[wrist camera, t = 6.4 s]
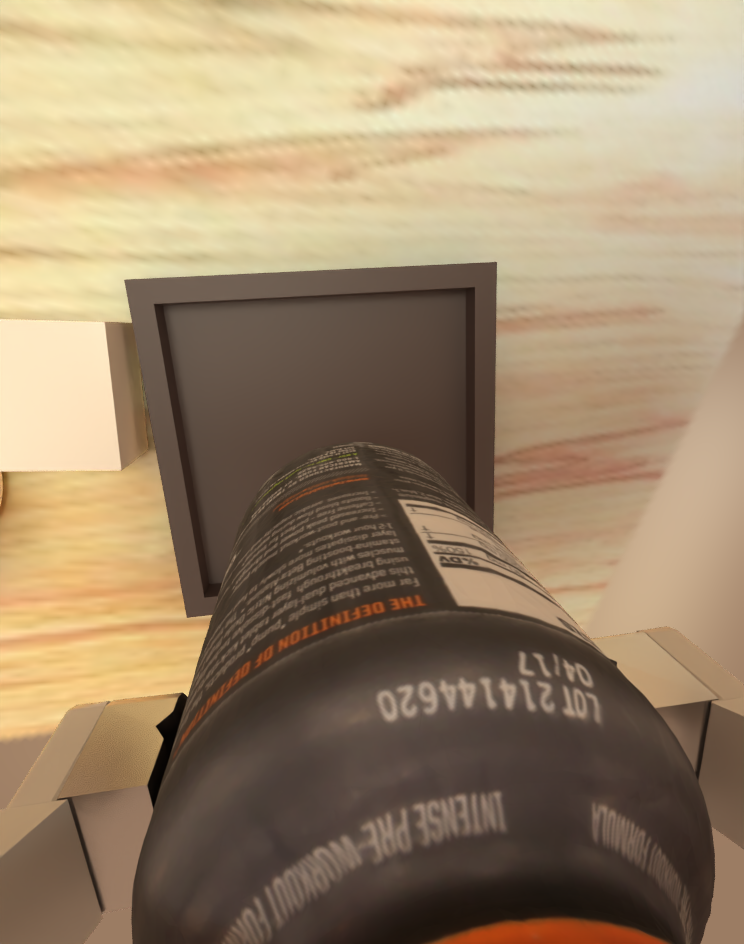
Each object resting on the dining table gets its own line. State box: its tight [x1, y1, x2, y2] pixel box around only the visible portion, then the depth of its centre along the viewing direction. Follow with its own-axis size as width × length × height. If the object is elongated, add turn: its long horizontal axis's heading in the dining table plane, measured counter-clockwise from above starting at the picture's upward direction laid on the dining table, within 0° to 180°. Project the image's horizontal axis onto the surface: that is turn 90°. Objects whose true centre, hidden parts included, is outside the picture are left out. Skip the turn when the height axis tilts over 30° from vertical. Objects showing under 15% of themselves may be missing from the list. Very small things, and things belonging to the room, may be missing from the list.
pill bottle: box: [132, 442, 715, 944], centre depth 8 cm, size 6×6×11 cm
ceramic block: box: [0, 319, 148, 472], centre depth 22 cm, size 6×6×4 cm
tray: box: [124, 262, 497, 618], centre depth 25 cm, size 16×16×2 cm
